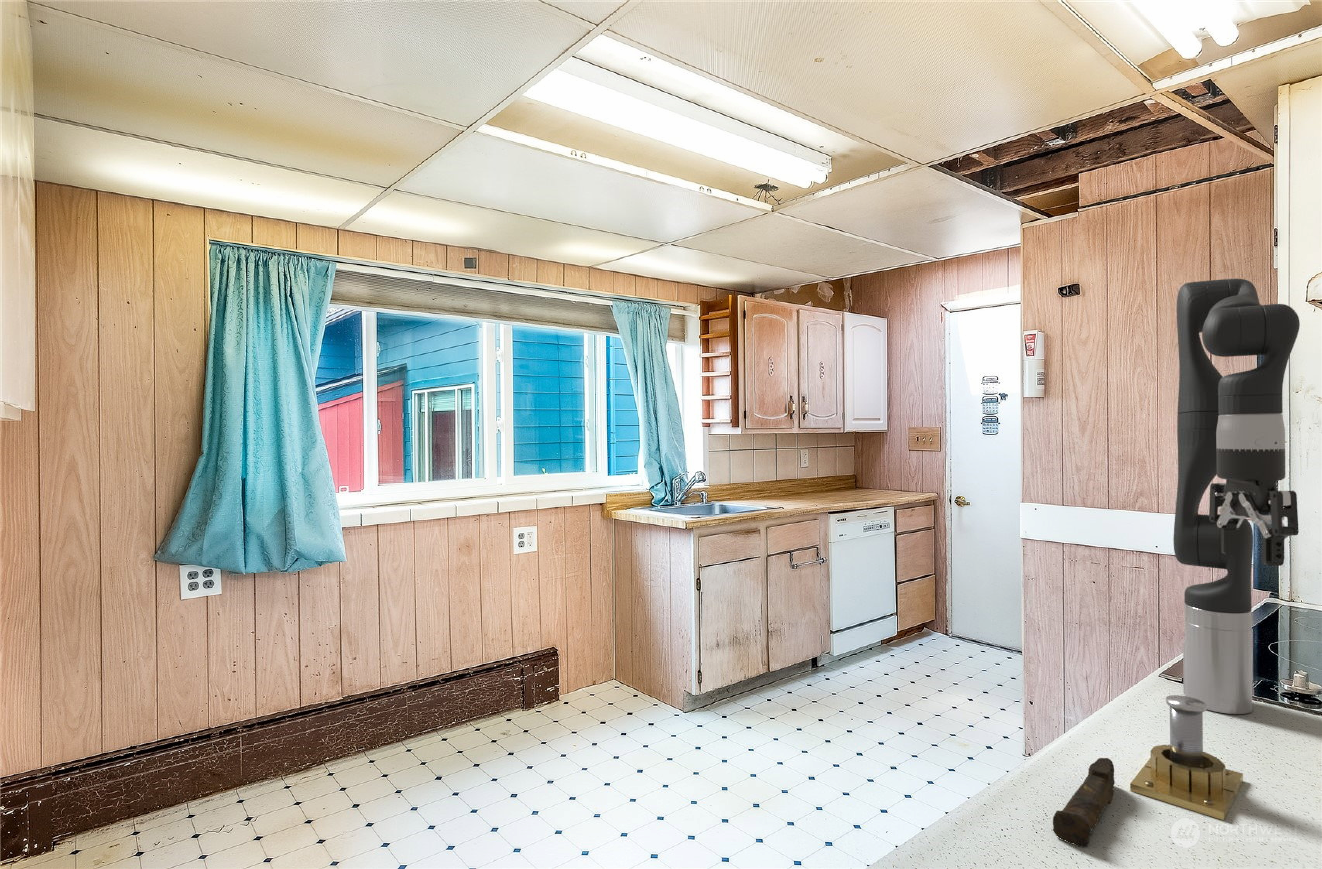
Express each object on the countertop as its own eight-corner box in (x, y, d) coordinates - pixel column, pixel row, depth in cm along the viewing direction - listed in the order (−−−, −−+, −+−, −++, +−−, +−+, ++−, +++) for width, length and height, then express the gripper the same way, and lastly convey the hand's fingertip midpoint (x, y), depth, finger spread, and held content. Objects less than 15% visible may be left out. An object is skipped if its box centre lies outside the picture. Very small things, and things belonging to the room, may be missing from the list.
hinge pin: (1159, 769, 98) (1159, 694, 98) (1193, 770, 98) (1193, 695, 98) (1178, 785, 94) (1178, 707, 94) (1214, 787, 93) (1213, 708, 93)
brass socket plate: (1156, 756, 104) (1156, 731, 104) (1243, 780, 97) (1242, 753, 97) (1130, 790, 95) (1130, 762, 95) (1223, 820, 87) (1223, 790, 87)
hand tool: (1089, 854, 82) (1089, 814, 81) (1051, 839, 84) (1051, 801, 84) (1133, 794, 94) (1133, 760, 94) (1099, 783, 97) (1099, 750, 97)
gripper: (1319, 447, 92) (1320, 569, 92) (1244, 444, 106) (1244, 550, 106) (1256, 448, 93) (1257, 569, 93) (1190, 445, 107) (1191, 550, 107)
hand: (1250, 559), depth 100 cm, fingers open, 8 cm apart
